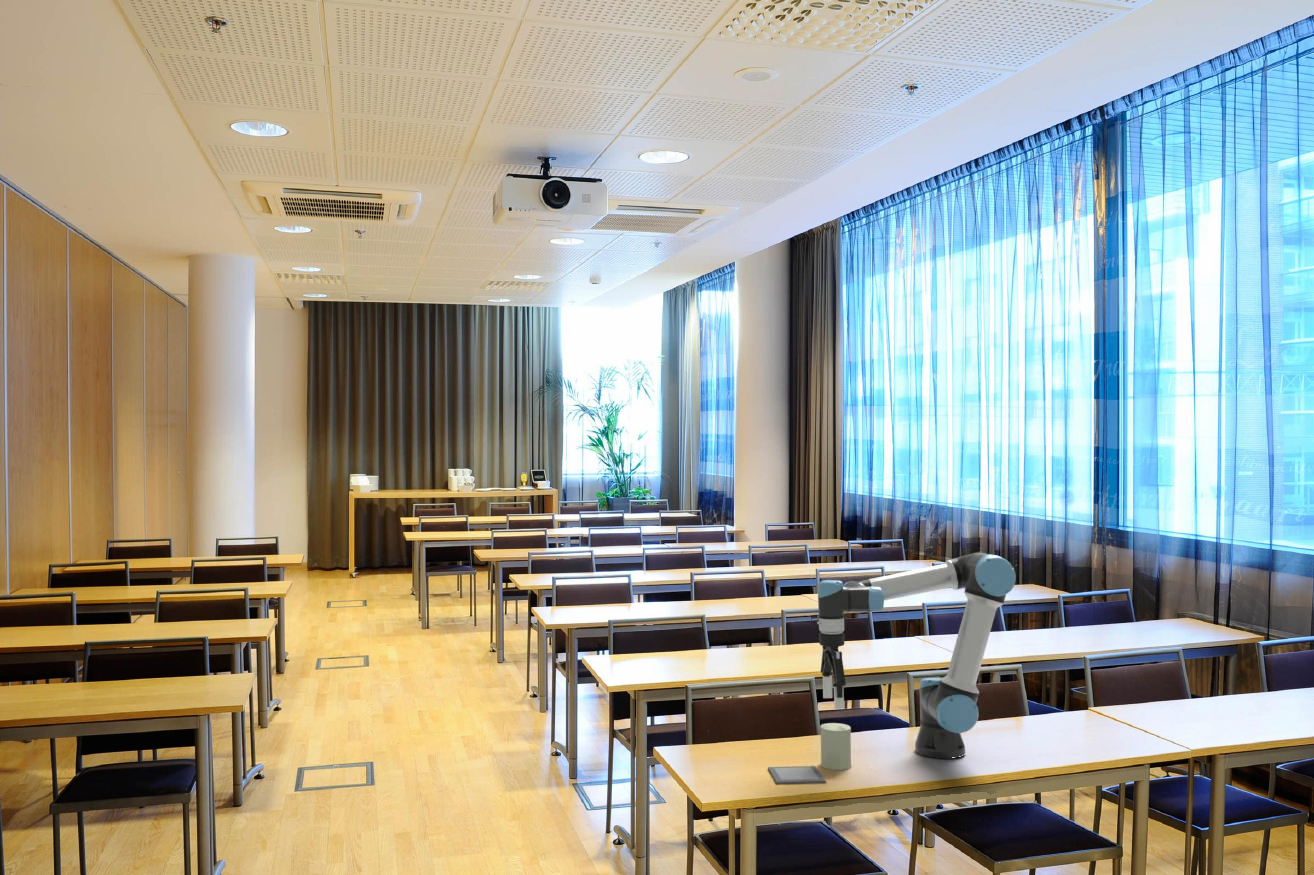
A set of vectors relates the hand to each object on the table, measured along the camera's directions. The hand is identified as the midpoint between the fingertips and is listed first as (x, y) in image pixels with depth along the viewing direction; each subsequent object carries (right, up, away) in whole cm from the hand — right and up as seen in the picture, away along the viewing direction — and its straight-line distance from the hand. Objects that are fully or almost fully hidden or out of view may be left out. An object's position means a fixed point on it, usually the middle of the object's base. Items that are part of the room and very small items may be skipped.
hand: (833, 703), depth 283 cm
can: (+1, -19, -1) cm, 19 cm away
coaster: (-13, -18, -10) cm, 25 cm away
